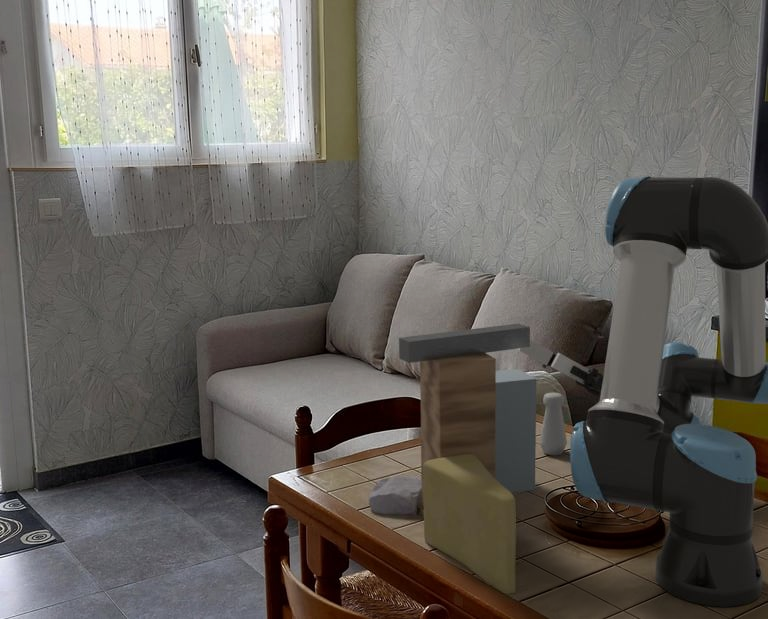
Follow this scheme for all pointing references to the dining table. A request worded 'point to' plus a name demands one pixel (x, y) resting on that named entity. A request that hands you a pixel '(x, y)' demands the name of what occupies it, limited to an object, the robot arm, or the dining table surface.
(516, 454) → the grey-blue block
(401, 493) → the stone block
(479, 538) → the cheese
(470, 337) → the steel bar
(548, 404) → the salt shaker
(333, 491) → the dining table surface
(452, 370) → the walnut stand
